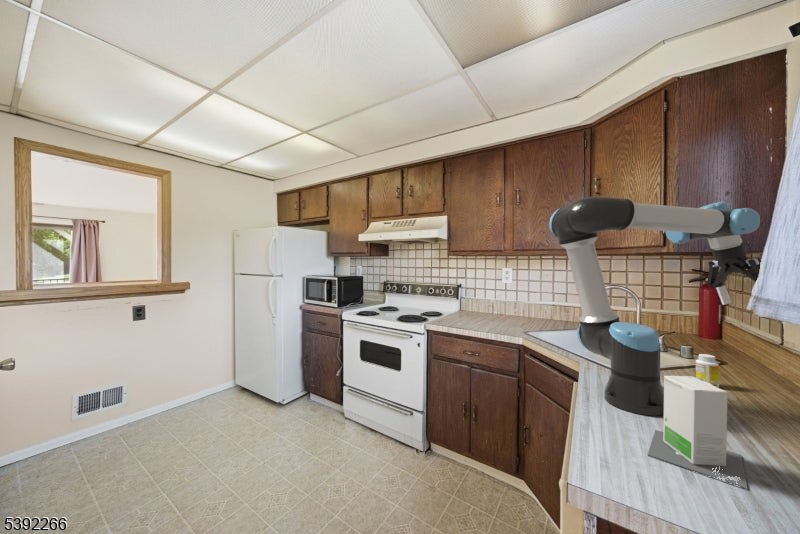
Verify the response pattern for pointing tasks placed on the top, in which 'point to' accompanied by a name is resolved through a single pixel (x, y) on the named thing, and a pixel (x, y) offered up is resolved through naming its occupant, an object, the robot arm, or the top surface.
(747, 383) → the top surface
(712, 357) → the supplement bottle
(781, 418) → the top surface
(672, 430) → the skincare box
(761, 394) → the top surface
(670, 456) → the mat
